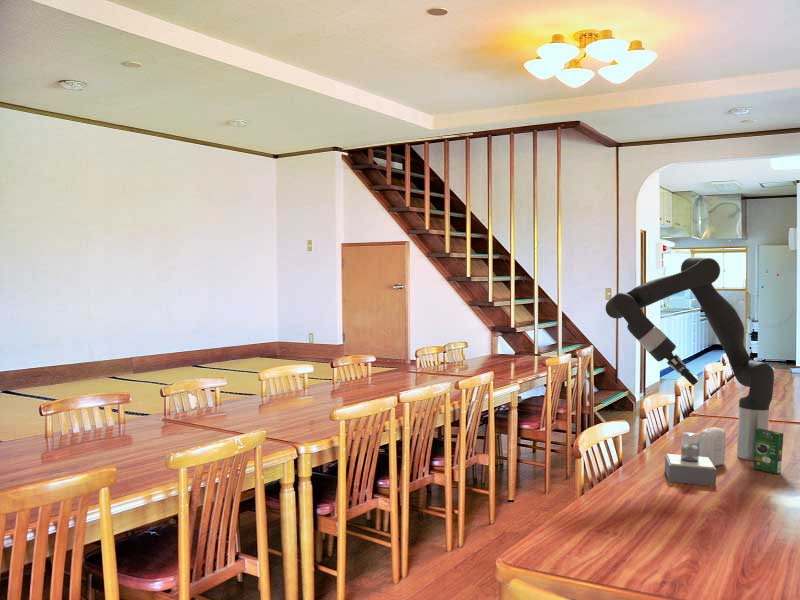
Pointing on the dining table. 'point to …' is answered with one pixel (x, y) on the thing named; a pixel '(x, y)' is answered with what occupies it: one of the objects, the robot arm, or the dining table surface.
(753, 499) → the dining table surface
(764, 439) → the coffee box
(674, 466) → the stand
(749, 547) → the dining table surface
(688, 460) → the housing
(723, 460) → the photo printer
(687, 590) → the dining table surface
